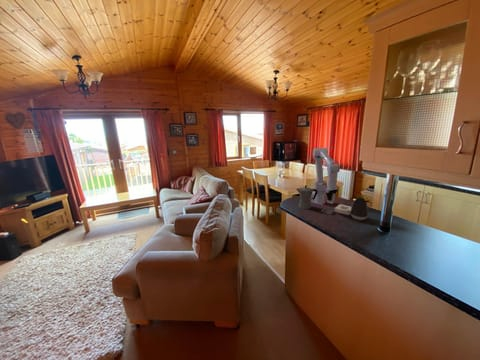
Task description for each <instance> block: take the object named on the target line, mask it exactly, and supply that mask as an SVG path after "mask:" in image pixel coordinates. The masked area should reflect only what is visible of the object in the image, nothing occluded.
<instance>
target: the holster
mask: <svg viewBox="0 0 480 360" xmlns="http://www.w3.org/2000/svg"><path fill="white" fill-rule="evenodd" d="M334 210H335V208H333V209H332V210H329V209H327V207H326V206H324V207H323V208H322V209H321V211H320V212H321V213H325V214H328V215H330V216H331V215H333V214H335V213H336V212H335V211H334Z"/></svg>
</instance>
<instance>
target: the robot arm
mask: <svg viewBox="0 0 480 360" xmlns="http://www.w3.org/2000/svg"><path fill="white" fill-rule="evenodd" d="M328 153H329V149H328V148H327V147H321V148H320V147H319V148H316V147H315V148H313V150H312V159H313V160H314V162H315V171H316V172H315V174H316V176H315V177H316V180H315V181H314V182H313V187H312V189H316V190H317V191H318V193H317V195H316V197H315V199H312V198H314V195H315V191H312V192H311V200H310V203H314V204H319V205H324V204H325V203H327V200H326V201H325V196H326V198H327V199H328V200H329V201H331V200H332V196H333V193H335V195H336V194H337V192H338V191H339V190H338V189H339V187H338V185H337V184H338V173H340V169H341V167H340V165H339V163H336V162H335V160H333V158H332V157H330V156H329V154H328ZM323 160H324V161H323ZM323 162H324V163H323ZM323 164H324V165H325V166H326V170H327V175H328V176H327V181H326V180H324V172H323Z"/></svg>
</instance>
